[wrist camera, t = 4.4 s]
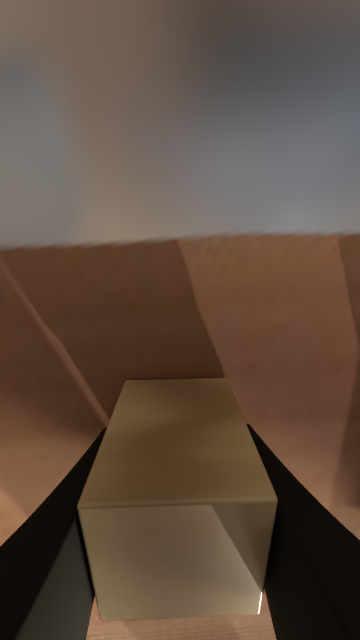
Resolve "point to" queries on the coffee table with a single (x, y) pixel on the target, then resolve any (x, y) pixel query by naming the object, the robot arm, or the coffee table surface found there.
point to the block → (177, 505)
